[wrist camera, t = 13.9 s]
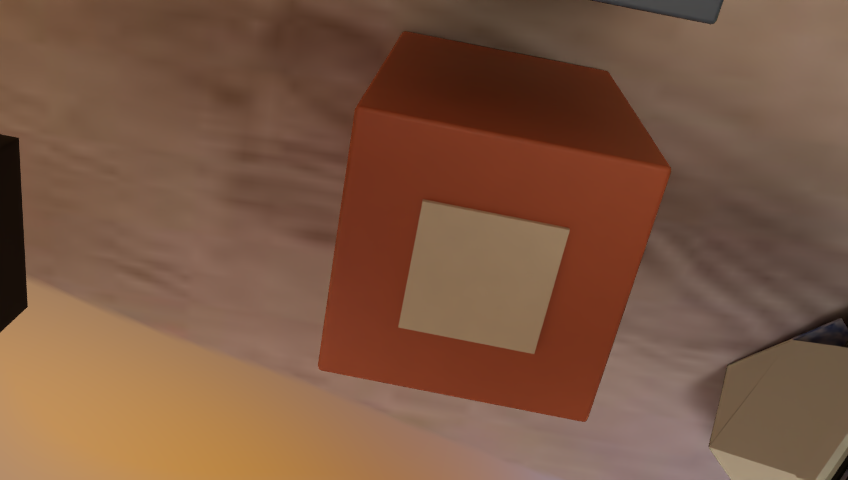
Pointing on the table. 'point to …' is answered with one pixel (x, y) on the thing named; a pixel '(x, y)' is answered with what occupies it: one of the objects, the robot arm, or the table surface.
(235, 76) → the table surface
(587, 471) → the table surface
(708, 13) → the blue grey marked block
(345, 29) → the table surface
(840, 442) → the building
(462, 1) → the table surface
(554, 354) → the orange red block
